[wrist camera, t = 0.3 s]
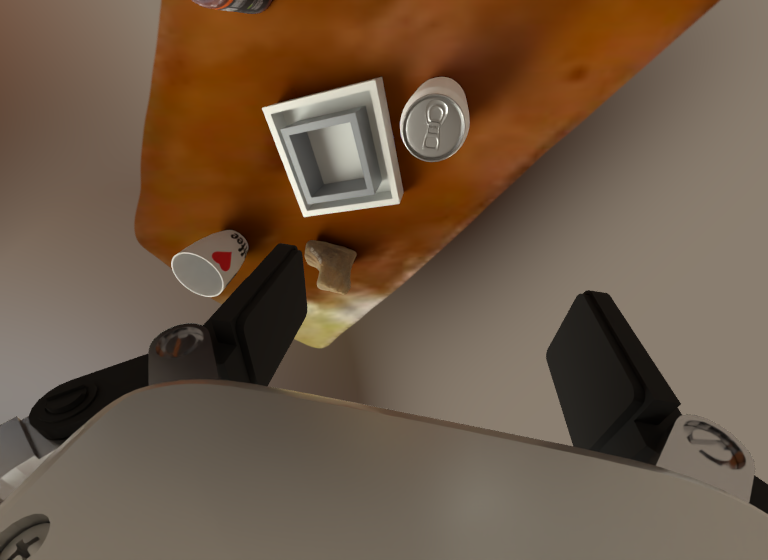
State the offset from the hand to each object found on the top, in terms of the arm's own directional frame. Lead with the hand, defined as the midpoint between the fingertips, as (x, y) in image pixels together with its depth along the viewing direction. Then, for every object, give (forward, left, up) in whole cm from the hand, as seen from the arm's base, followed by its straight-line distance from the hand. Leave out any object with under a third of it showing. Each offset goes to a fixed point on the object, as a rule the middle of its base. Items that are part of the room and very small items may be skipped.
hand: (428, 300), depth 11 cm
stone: (+17, -20, -35) cm, 43 cm away
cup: (+13, -38, -35) cm, 53 cm away
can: (-1, -1, -35) cm, 35 cm away
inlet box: (+1, -14, -34) cm, 37 cm away
